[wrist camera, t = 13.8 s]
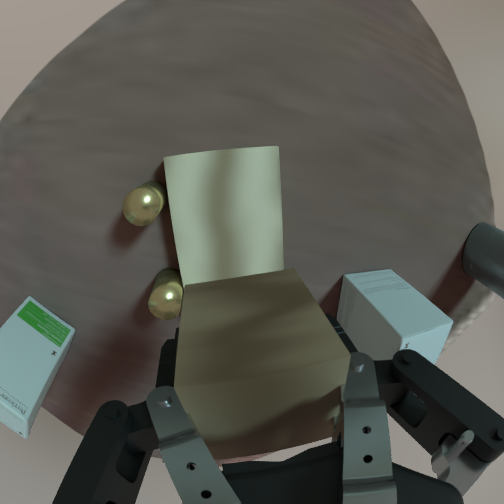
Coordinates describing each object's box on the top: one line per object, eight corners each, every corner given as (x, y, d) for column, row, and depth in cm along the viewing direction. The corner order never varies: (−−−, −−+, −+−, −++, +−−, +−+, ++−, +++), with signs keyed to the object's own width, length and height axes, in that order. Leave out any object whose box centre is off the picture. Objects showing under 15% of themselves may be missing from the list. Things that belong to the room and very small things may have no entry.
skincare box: (77, 328, 29) (31, 423, 14) (66, 356, 30) (29, 442, 16) (27, 293, 26) (-36, 371, 12) (21, 324, 27) (-29, 400, 13)
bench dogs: (164, 178, 24) (154, 185, 20) (186, 291, 29) (183, 317, 24) (135, 184, 24) (119, 192, 19) (160, 294, 29) (153, 321, 24)
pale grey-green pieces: (272, 146, 25) (278, 146, 23) (278, 292, 31) (284, 304, 29) (167, 156, 24) (163, 157, 22) (190, 303, 30) (189, 316, 28)
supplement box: (333, 324, 34) (379, 394, 22) (342, 272, 31) (402, 337, 19) (380, 315, 35) (431, 374, 23) (391, 267, 32) (456, 320, 21)
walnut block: (293, 268, 13) (350, 355, 7) (295, 348, 15) (332, 436, 9) (184, 284, 12) (173, 387, 7) (205, 363, 14) (211, 459, 9)
